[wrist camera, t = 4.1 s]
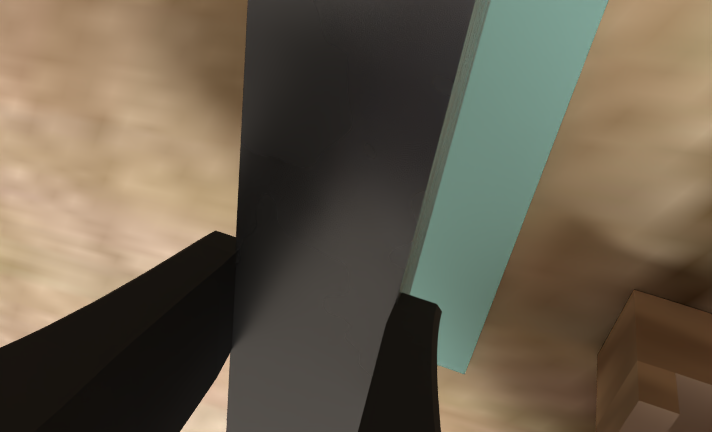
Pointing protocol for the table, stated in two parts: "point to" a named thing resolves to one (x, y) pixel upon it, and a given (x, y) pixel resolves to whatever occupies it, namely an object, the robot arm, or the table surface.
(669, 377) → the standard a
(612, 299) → the table surface
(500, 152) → the mat
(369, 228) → the rail
